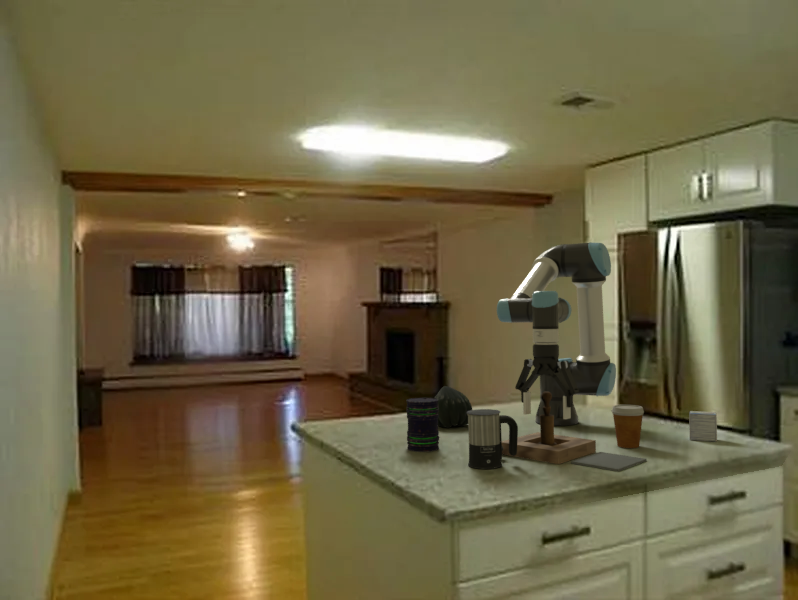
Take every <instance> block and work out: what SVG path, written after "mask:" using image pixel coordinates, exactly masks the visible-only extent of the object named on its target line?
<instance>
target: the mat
mask: <svg viewBox="0 0 798 600" xmlns="http://www.w3.org/2000/svg"><path fill="white" fill-rule="evenodd" d="M645 462H647V458H644V457H643V458H642V457H638V456H637V457H636V456H630V455H625V454H617V453H611V452H605V451H598V452H595V453H592V454H589V455H586V456H583V457H580V458H576V459H573V460H570V464H573V465H578V466H583V467H590V468H597V469H602V470H607V471H614V472H621V471H624V470H625V469H628V468H629V469H630V468H632V467H634V466H637V465H639V464H642V463H645Z"/></svg>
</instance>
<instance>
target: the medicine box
mask: <svg viewBox="0 0 798 600" xmlns="http://www.w3.org/2000/svg"><path fill="white" fill-rule="evenodd" d="M717 418H718V417H717V412H716V411H700V410H699V411H696V410H694V411H693V410H690V411H689V414H688V419H689V420H688V421H689V423H688V427H689V441H699V442H700V441H701V442H702V441H703V442H716V443H717V441H718V426H717V425H718V422H717V421H718V419H717Z"/></svg>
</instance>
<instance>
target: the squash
mask: <svg viewBox="0 0 798 600" xmlns="http://www.w3.org/2000/svg"><path fill="white" fill-rule="evenodd" d="M434 398H436V399H438V408H439V412H438V415H439V416H438V427H441V428H446V429H447V428H448V429H449V428H452V426H458V427H465V426H468V415H467V412H468V411H470V410H473V406H472V404H471V402H470V399H469V398H468V397H467V396H466V395H465V394H464V393H463V392H461V391H459V390H457V389H455V388H453V387H450V386H448V385H447V386H446V385H444V386H443V387H441V388H440V389H439V391H438V392H437V394H436V395H435V396H434Z"/></svg>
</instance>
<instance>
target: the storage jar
mask: <svg viewBox="0 0 798 600" xmlns="http://www.w3.org/2000/svg"><path fill="white" fill-rule="evenodd" d="M405 408H406V418H407V431H406V433H407V434H406V435H407V436H406V441H407V442H406V443H407V450H408V451H410V452H415V453H417V452H418V453H429V452H430V453H431V452H435V451H439V450H440V447H439V445H440V444H439V443H440V436H439V435H440V433H439V426H438V416H439V415H438V412H439V408H438V399H436V398H435V397H411V398H407V399H406V407H405Z"/></svg>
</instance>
